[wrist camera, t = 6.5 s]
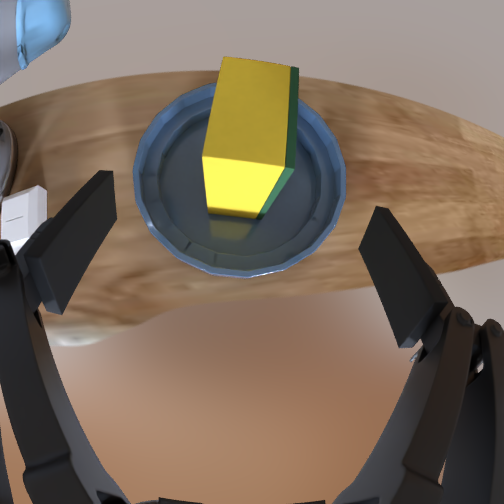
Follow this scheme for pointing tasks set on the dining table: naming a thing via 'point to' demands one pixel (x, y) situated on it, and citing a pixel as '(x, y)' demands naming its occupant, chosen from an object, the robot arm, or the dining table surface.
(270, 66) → the sponge
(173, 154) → the bowl
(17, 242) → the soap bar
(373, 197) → the dining table surface
